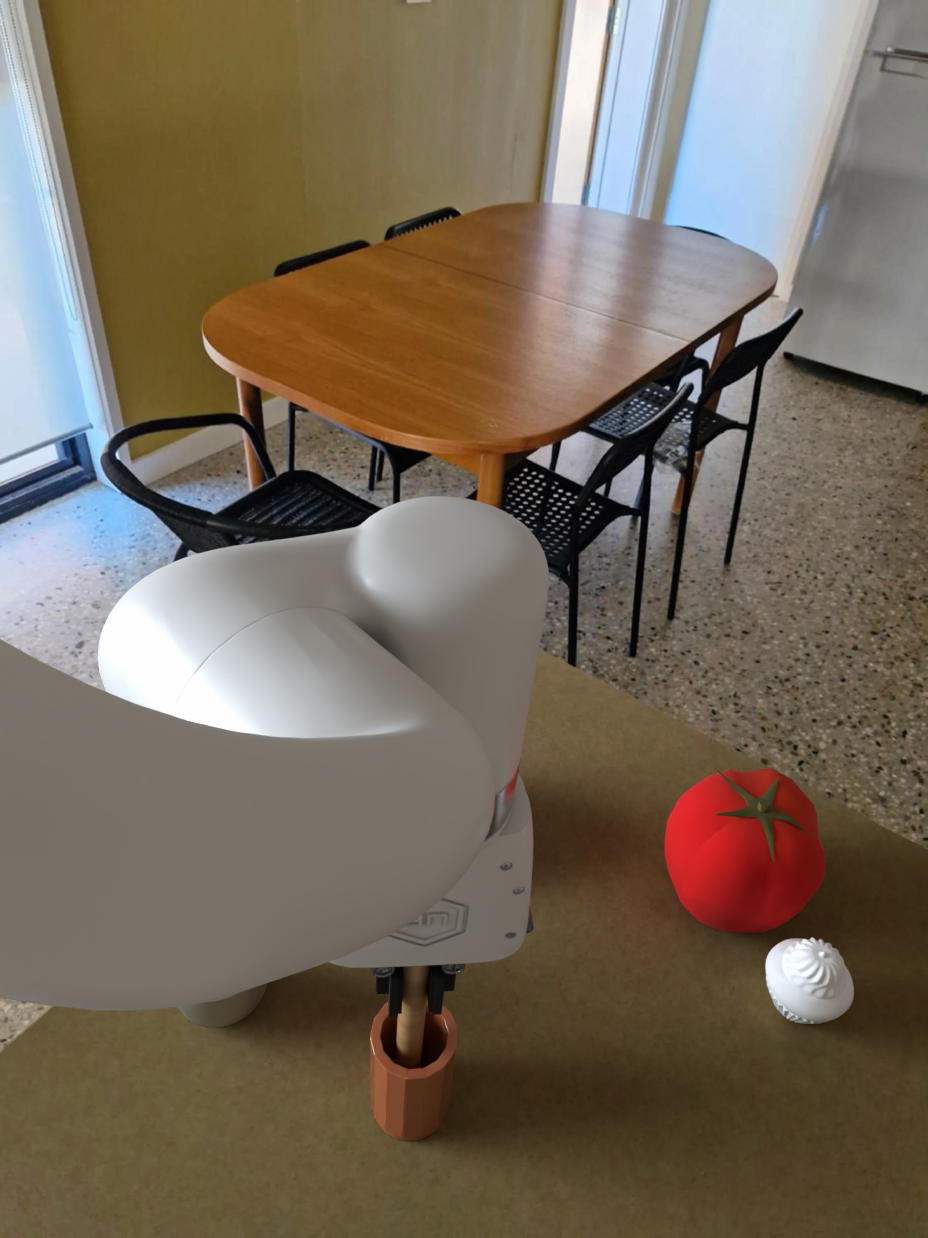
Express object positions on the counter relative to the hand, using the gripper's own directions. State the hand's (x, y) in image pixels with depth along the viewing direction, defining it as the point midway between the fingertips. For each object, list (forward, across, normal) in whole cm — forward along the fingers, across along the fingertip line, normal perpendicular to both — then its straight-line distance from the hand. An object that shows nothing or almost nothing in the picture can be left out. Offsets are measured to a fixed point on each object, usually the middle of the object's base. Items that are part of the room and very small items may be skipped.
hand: (413, 989), depth 50 cm
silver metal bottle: (+15, -13, +8) cm, 21 cm away
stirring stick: (+14, 0, 0) cm, 14 cm away
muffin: (+15, +29, +5) cm, 33 cm away
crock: (+15, 0, 0) cm, 15 cm away
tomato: (+15, +27, +15) cm, 35 cm away
